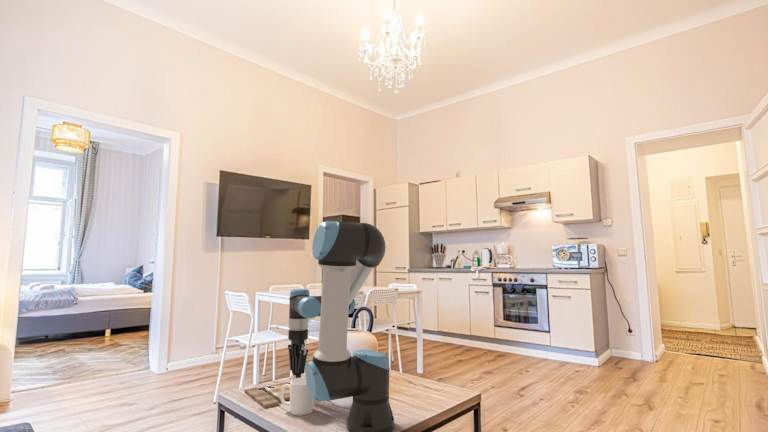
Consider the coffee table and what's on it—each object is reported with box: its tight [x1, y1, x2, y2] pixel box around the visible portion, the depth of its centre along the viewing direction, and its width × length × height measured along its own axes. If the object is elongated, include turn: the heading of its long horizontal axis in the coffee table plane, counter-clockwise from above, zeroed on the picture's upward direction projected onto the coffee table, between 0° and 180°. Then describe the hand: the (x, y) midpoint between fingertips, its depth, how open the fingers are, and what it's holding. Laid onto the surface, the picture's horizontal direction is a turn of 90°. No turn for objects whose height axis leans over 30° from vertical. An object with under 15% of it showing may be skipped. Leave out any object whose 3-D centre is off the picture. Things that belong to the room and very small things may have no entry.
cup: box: [280, 377, 315, 416], centre depth 138 cm, size 8×12×10 cm
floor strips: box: [244, 386, 280, 409], centre depth 149 cm, size 20×6×1 cm, turn 39°
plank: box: [262, 381, 290, 403], centre depth 155 cm, size 16×10×2 cm, turn 38°
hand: (296, 391), depth 152 cm, fingers closed
